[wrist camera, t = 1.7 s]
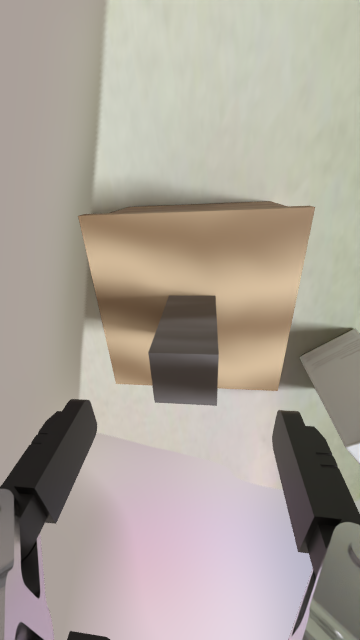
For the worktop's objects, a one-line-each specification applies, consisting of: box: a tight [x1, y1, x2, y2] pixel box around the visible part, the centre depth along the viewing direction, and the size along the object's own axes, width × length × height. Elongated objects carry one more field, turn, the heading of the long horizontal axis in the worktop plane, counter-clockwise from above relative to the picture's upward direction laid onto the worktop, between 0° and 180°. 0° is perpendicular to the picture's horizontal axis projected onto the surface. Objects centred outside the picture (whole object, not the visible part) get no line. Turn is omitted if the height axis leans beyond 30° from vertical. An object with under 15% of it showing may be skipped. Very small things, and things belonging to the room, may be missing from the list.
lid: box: [78, 206, 315, 406], centre depth 16 cm, size 15×15×8 cm
